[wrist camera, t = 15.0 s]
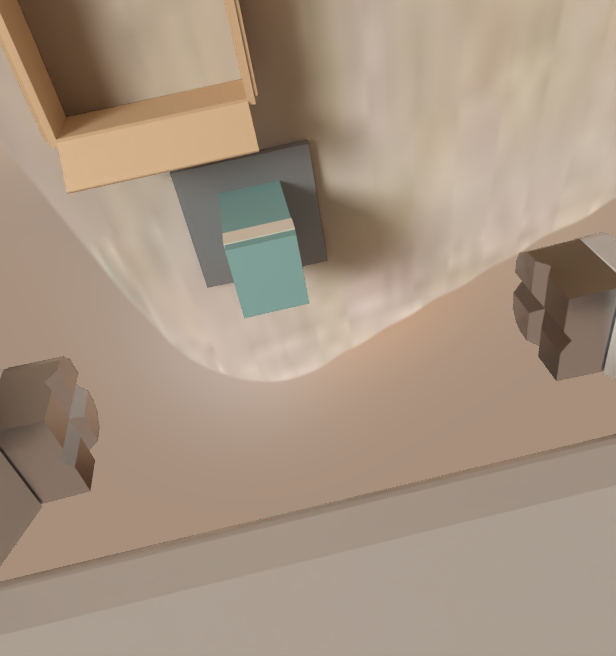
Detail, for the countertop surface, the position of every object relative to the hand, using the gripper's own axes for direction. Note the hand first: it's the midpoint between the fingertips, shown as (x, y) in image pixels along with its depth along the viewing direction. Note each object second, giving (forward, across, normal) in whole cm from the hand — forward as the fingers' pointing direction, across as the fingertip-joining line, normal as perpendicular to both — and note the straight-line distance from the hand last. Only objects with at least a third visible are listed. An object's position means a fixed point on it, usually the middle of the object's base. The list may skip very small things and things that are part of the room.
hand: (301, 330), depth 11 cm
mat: (+37, +1, +17) cm, 41 cm away
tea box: (+36, +1, +17) cm, 40 cm away
